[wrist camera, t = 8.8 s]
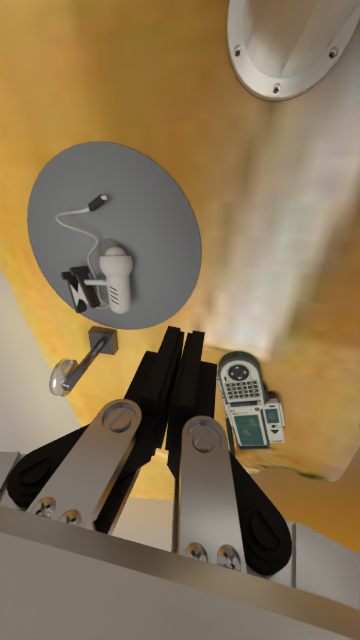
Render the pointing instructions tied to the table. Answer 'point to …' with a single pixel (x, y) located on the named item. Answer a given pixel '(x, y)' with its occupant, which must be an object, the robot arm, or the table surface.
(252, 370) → the communication device
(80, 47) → the table surface
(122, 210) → the mat
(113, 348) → the square-base wall hook
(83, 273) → the clip-on lamp
